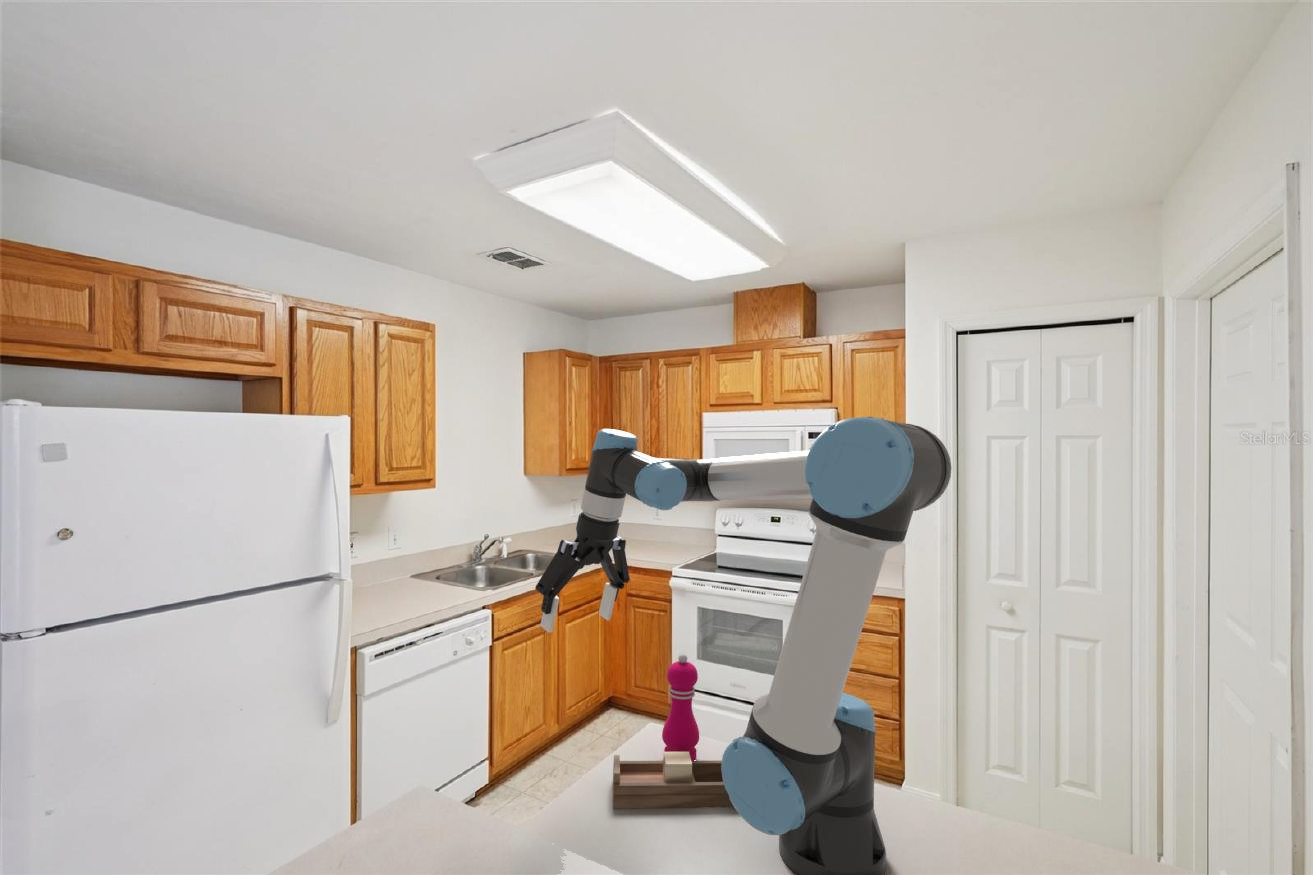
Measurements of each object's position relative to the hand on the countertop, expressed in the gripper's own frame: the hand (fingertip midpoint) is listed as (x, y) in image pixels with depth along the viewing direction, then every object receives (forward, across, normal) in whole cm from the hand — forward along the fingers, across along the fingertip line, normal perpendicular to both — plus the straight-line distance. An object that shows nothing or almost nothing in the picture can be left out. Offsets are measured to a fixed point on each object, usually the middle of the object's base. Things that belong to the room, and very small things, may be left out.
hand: (576, 622), depth 113 cm
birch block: (+19, -9, +24) cm, 32 cm away
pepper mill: (+24, -19, +17) cm, 35 cm away
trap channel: (+21, -11, +26) cm, 35 cm away
